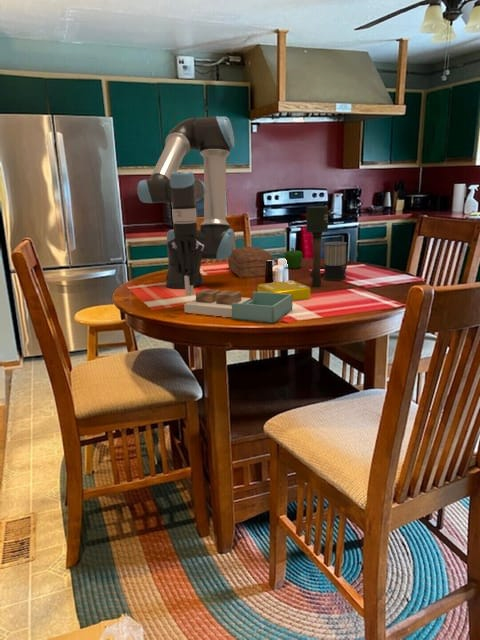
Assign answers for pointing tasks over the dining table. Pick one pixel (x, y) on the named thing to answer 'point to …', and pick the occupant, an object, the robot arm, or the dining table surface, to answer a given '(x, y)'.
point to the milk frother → (335, 261)
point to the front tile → (228, 297)
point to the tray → (263, 307)
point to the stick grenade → (317, 236)
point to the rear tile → (207, 295)
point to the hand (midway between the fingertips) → (189, 294)
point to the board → (211, 308)
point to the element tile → (287, 289)
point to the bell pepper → (293, 258)
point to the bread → (249, 261)
